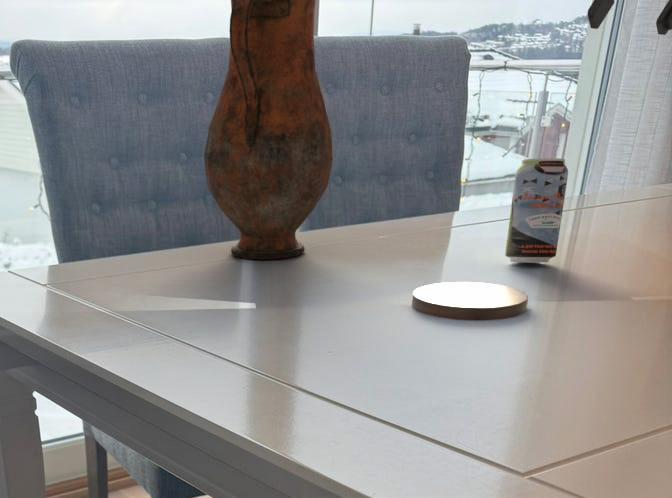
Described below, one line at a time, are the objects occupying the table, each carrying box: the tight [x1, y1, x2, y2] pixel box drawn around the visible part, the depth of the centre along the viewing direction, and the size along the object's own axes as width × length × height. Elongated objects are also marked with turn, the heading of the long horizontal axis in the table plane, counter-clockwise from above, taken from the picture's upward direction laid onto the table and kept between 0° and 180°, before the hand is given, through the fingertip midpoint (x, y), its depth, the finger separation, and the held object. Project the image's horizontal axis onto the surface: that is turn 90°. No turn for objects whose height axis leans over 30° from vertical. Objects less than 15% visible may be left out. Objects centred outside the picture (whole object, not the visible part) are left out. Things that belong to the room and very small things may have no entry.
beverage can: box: [504, 157, 569, 264], centre depth 114 cm, size 6×7×12 cm
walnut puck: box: [411, 281, 529, 321], centre depth 92 cm, size 11×11×3 cm
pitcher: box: [203, 0, 334, 261], centre depth 117 cm, size 17×21×30 cm
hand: (625, 26), depth 107 cm, fingers open, 8 cm apart
